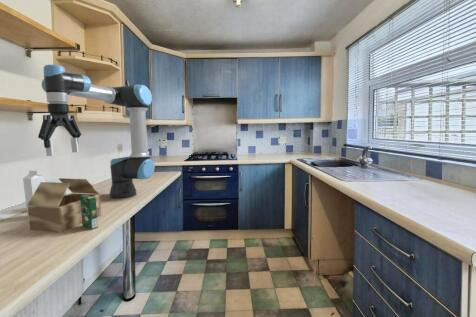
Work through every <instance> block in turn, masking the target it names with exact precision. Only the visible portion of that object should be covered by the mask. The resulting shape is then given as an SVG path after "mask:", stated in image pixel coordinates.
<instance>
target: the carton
mask: <svg viewBox="0 0 476 317" xmlns="http://www.w3.org/2000/svg"><path fill="white" fill-rule="evenodd" d="M82 195H89V196H92V197H96V209H97V218H100V217H101V216H102V205H101V195H100V194H89V193H72V192H71V193H69V194H66V195H65V196H63V198H62V200H61V202H60V204H59V206H58V207H47V206H28V214H29V218H28V221H29V229H30V230H29V231H41V232H50V233H51V232H52V233H53V232H54V233H63V232H66V231H69V230H70V229H73V228H75V227H77V226H80V225H83V224H82V212H81V201H80V196H82Z"/></svg>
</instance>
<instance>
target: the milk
mask: <svg viewBox="0 0 476 317" xmlns="http://www.w3.org/2000/svg"><path fill="white" fill-rule="evenodd" d="M22 180H23V190H24V197H25V198H24V199H25V207H26V214H27V218H28V219H29V214H28V206H29V205H28V203H29V202H30V200H31V198H32V196H33V195H34V193H35V191H36V189H37V188H38V186H39V184H40V183H41V182H45V181H46V180H45V176H43V175H42V174H38V172H37V170H29V171H28V174H27V175H26V176H24V177H23V178H22Z"/></svg>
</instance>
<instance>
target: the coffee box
mask: <svg viewBox="0 0 476 317" xmlns="http://www.w3.org/2000/svg"><path fill="white" fill-rule="evenodd" d="M80 201H81V212H82V224H81V225H82V226H83V227H84V228H88V229H90V230H95V229H98V228H99V224H98V217H97V209H96V197H92V196H89V195H82V196H80Z"/></svg>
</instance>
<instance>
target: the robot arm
mask: <svg viewBox="0 0 476 317" xmlns="http://www.w3.org/2000/svg"><path fill="white" fill-rule="evenodd" d="M41 88H42V90H43V91H44V92H45V94H46V102H47V112H48V113H49V114H43V115H42V124H41V125H40V129H39V133H38V136H37V137H38V139H40V140H43V146H44V149H45V154H46V157H53V156H54V148H53V147H54V146H53V139H51V137H52V136H53V134H54V132H55V131H56V129H57V127H64V128H65V130H66V132H68V134H69V135H70V136H71V137H70V144H71V153H79V138H81V136H82V133H81V131H80V128H79V127H78V125H77V123H76V119H75V116H74V115H73V114H72V115H71V114H70V115H69V113H70V107H69V104H68V103H69V98H68V97H69V96H71V97H72V96H73V97H79V98H84V99H89V100H96V101H101V102H104V103H105V104H110V105H114V106H120V107H126V110H127V111H129V124H130V128H129V129H130V144H131V145H130V148H131V151H130V152H131V153H130V155H129V156H124V157H123V156H122V157H117V158H112V159H111V160H110V166H109V167H110V175H111V185H110V186H111V187H110V191H109V197H110V199H111V198H112V199H124V198H129V197H134V196H136V195H137V189H136V186H135V183H134V181H133V180H141V181H142V180H148V179H150V178H151V177H152V176H153V174H154V172H155V168H156V167H155V162H154V161H153V160H152V159H151V156H150V154H149V153H148V146H147V145H148V144H147V143H148V142H147V140H148V139H147V123H146V122H147V119H146V117H147V116H146V115H147V114H146V112H147V111H148V110H149V105H151V103H152V102H153V96H152V92H151V90H150V89H149V88H148V87H147V86H146V85H145V84H132V85H123V86H110V85H109V86H106V87H105V86H101V85H95V84H93V83H92V80H91V78H89V77H88V76H87V75H84V74H80V73H79V74H77V73H73V72H72V73H71V72H66V70H65V67H64V65H63V66H62V65H60V64H46V65H44V67H43V79H42V81H41Z"/></svg>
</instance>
